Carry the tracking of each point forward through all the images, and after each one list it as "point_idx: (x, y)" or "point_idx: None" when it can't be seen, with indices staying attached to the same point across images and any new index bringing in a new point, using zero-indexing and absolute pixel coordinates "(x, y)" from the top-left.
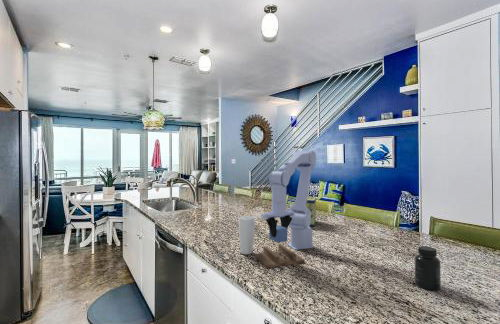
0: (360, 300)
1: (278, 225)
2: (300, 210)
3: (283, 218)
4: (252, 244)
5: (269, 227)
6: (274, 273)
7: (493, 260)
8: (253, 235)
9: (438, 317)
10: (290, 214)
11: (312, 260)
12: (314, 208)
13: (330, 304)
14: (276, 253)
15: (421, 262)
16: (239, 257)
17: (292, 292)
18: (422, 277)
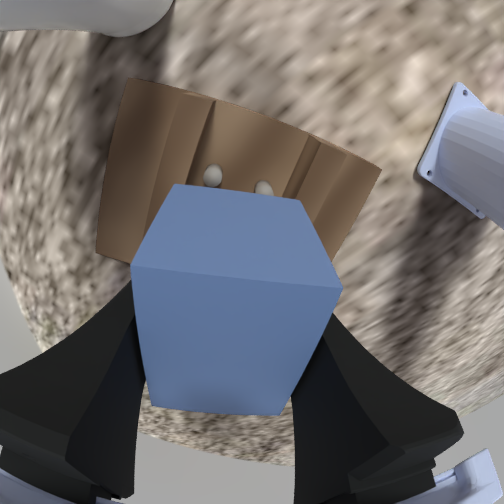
0: (213, 434)
1: (315, 310)
2: None
3: (329, 478)
4: (127, 20)
5: (89, 326)
6: (107, 298)
7: (484, 405)
8: (103, 2)
9: (260, 461)
10: (433, 493)
11: (344, 303)
12: None
13: (152, 420)
14: (258, 158)
15: None
16: (57, 53)
17: None
18: None
